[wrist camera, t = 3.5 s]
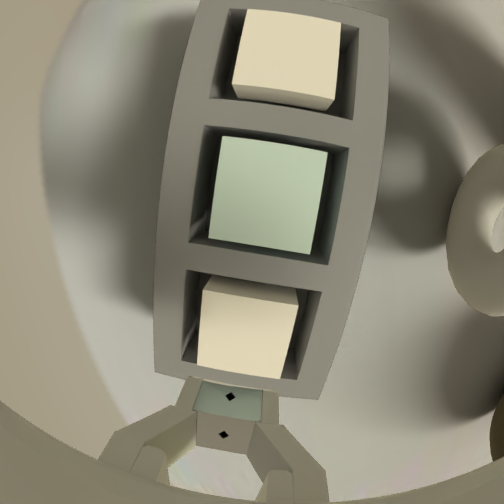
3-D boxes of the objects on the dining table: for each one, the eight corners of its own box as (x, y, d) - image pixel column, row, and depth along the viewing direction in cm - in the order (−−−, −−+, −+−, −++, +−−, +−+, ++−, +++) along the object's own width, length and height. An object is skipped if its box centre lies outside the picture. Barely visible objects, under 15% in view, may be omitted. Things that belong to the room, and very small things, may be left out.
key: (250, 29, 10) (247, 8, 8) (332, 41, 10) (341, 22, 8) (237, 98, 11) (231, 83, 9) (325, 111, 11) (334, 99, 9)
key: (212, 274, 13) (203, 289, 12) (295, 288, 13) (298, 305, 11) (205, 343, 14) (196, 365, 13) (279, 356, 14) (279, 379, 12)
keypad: (220, 33, 14) (203, -9, 9) (361, 55, 13) (388, 18, 8) (180, 329, 19) (154, 371, 14) (309, 351, 18) (318, 399, 13)
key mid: (230, 142, 12) (222, 135, 10) (319, 157, 12) (327, 152, 10) (217, 229, 13) (208, 237, 11) (304, 243, 13) (309, 254, 11)
